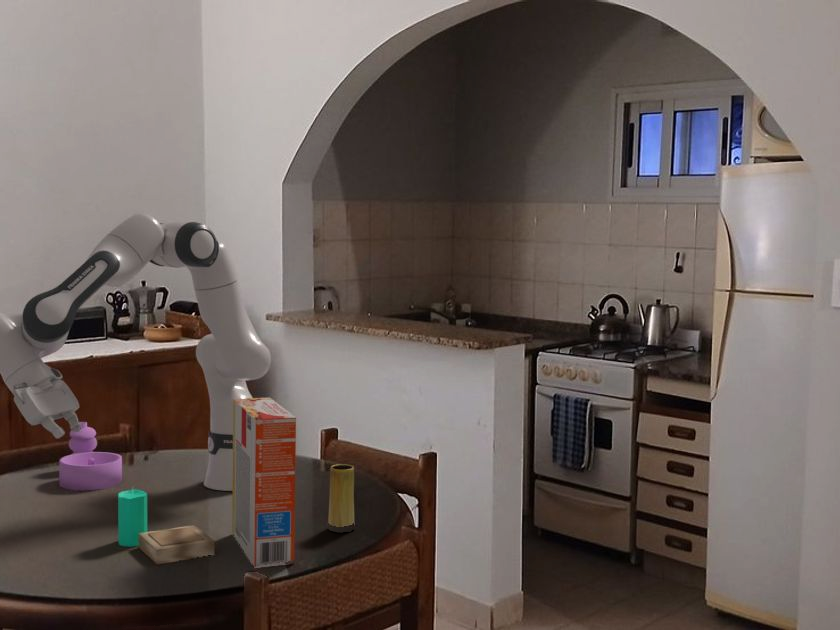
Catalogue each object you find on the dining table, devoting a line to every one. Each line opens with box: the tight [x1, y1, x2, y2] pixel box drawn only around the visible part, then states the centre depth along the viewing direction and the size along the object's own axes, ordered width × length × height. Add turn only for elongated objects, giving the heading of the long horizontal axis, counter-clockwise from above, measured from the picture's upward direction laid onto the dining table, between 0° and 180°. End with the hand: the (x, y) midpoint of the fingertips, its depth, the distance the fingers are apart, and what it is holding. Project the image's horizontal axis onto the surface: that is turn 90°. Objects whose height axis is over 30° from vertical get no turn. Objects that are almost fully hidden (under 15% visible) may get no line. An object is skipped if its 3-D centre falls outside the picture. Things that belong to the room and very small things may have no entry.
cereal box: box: [231, 397, 297, 567], centre depth 211 cm, size 23×8×30 cm, turn 21°
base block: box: [138, 524, 215, 565], centre depth 210 cm, size 12×12×3 cm
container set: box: [58, 421, 123, 491], centre depth 265 cm, size 25×15×13 cm, turn 26°
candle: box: [117, 486, 148, 548], centre depth 215 cm, size 6×6×12 cm
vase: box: [327, 463, 355, 527], centre depth 227 cm, size 6×6×14 cm
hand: (70, 433), depth 217 cm, fingers open, 8 cm apart
